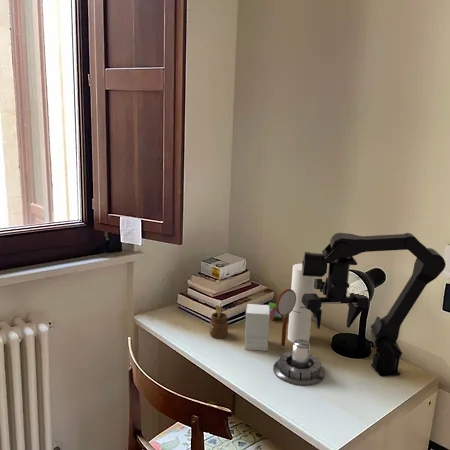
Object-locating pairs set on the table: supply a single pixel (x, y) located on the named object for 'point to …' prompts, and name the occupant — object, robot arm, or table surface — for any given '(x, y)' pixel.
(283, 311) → the magnifying glass
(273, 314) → the geometric puzzle
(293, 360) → the cylinder
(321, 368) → the ring collar
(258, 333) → the supplement box
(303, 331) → the cylindrical container
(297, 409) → the table surface
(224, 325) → the utensil holder
